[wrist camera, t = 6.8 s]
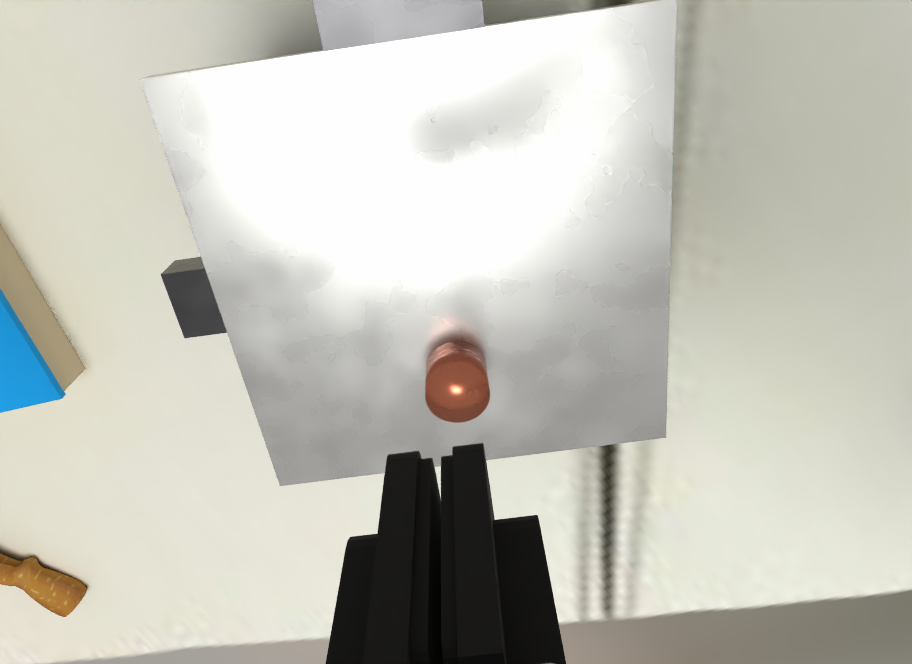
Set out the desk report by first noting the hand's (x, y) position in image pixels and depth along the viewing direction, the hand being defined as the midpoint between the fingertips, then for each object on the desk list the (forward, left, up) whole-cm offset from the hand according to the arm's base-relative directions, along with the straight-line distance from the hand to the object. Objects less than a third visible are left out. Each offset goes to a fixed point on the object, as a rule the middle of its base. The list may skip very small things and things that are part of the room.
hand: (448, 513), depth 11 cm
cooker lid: (0, -1, -14) cm, 14 cm away
